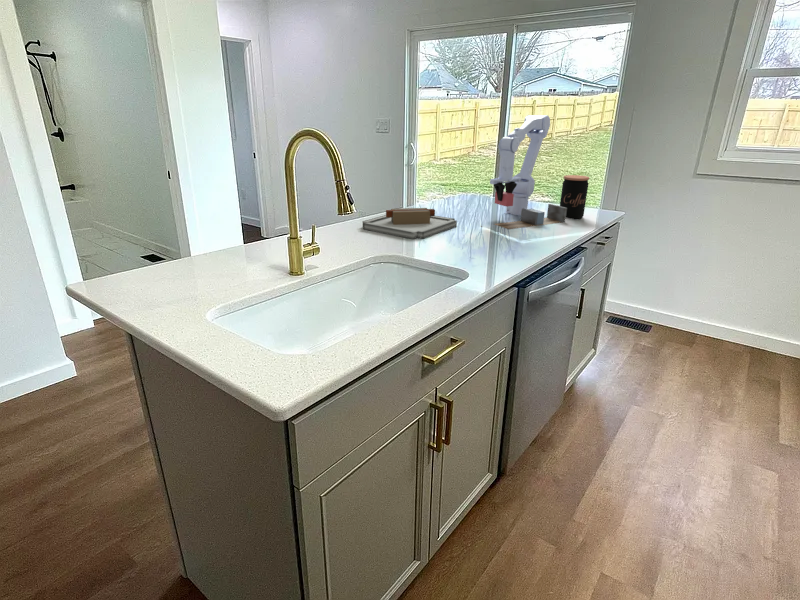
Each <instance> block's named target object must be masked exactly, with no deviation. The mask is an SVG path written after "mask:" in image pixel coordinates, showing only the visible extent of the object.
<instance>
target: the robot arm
mask: <svg viewBox="0 0 800 600" xmlns="http://www.w3.org/2000/svg"><path fill="white" fill-rule="evenodd" d="M550 126H551V117H550V116H549V115H530V114H528V115H527V116H525V118H524V121H523V123H522V124H521V126H520V127H515V128H514V129H513V131H511V132H510V133H509V134H508V135H507V136H502V138H501V139H500V140H499V142H498V150H499V156H500V157H499V158H500V160H499V168H498V169H499V171H498V172H499V173H498V177H495V178H490V179H489V184H490V185H493V187H494V190H495V192H496V193H497V198H498V201H502V199H503V192H508V193H512V194H514V198H513V206H507V207H505V209H506V210H505V214H511V215H514V216H521V211H522V208H525V209H529V208H528V207H529V198H530V197H531V196H532V195H533V193H534V191H535V185H536V184H535V183H536V181H535V179H534V178H533V177H532V174H533V171H534V167H535V164H536V162H537V159H538V156H539V153H540V150H541V148H542V144H543V141H544V139H545V138H547V136H548V133H549V130H550ZM526 137H528V138H529V139H530V141H529V144H528V147H527V150H526V153H525V157H524V159H523V162H522V166H521V168H520V171H519V172H518V173H517V174H515V175H514V168H515V167H514V165H515V156H516V155H515V154H516V152H518V150H519V147H520V144H521V143H522V142H523V141H525V139H526ZM513 175H514V176H513Z"/></svg>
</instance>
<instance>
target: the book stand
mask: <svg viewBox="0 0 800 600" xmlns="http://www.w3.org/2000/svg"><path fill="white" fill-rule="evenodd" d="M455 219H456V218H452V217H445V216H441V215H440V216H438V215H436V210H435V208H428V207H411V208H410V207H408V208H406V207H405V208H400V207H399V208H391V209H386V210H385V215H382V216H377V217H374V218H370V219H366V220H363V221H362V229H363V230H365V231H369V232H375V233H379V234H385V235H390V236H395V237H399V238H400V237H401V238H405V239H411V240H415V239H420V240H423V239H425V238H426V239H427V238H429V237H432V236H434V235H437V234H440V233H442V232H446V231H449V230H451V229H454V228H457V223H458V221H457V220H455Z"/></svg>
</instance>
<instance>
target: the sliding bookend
mask: <svg viewBox="0 0 800 600" xmlns="http://www.w3.org/2000/svg"><path fill="white" fill-rule="evenodd" d="M528 209H529V208H527V209H525V208H522V211H521V215H520V221H523V222H527V223H530V224H533V225H537V218H538V212H535V211H532V210H528Z"/></svg>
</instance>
